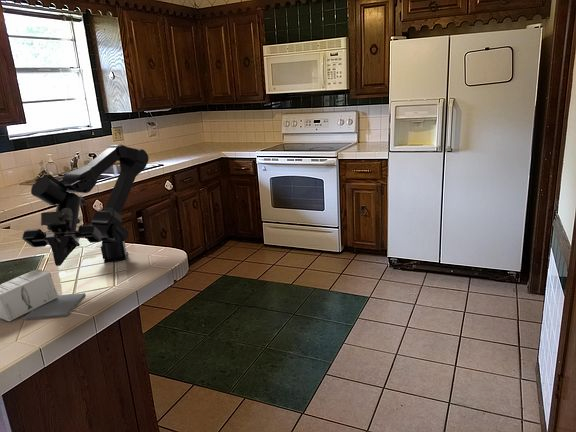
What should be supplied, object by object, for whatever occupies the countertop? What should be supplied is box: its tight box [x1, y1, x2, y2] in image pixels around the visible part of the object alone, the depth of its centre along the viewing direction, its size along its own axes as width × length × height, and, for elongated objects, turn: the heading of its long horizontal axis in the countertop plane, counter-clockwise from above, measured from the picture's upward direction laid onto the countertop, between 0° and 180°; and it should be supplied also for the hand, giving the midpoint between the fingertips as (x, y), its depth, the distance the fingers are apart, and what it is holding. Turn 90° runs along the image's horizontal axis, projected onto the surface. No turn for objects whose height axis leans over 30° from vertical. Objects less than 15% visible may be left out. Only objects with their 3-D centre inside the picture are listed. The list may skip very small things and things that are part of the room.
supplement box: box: [0, 268, 59, 322], centre depth 110 cm, size 7×7×13 cm
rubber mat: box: [24, 292, 86, 321], centre depth 110 cm, size 11×10×1 cm
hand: (57, 265), depth 114 cm, fingers closed
